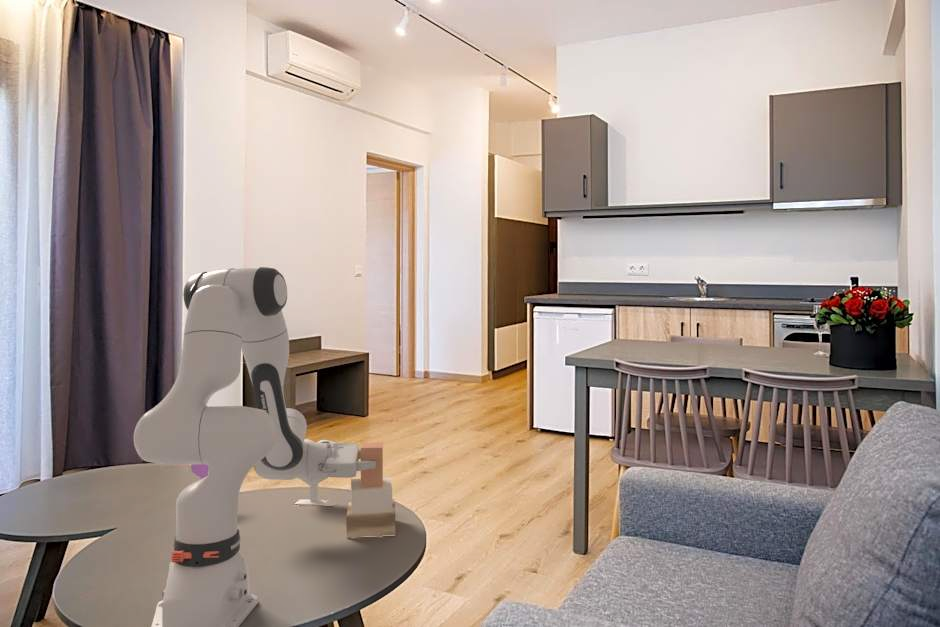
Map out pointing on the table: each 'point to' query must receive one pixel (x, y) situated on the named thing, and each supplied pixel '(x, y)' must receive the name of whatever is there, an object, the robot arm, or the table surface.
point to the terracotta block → (376, 475)
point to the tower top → (371, 497)
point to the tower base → (370, 523)
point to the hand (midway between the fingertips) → (376, 459)
